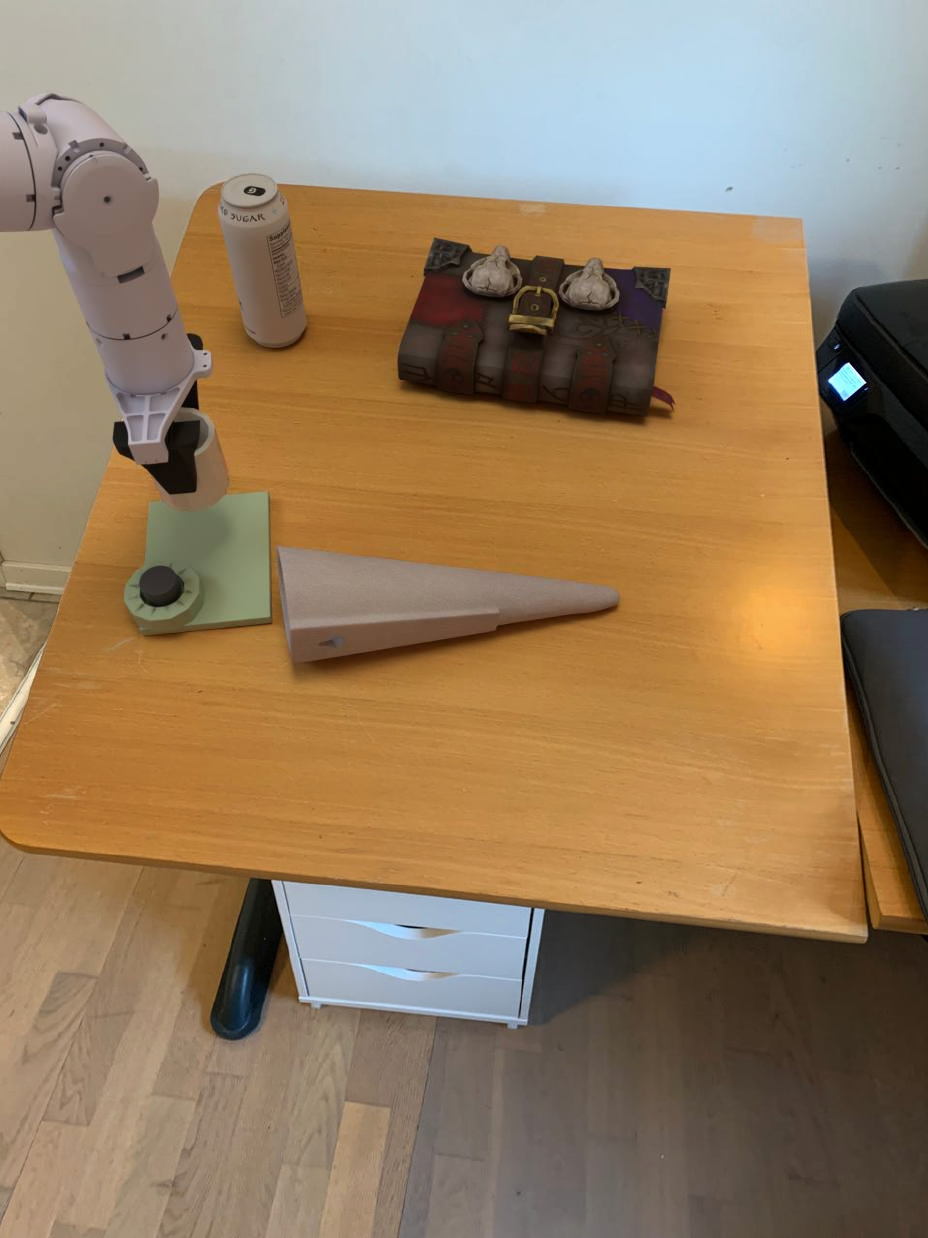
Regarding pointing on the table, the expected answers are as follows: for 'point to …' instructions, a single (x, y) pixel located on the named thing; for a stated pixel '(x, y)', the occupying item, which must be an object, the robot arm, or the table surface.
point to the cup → (201, 468)
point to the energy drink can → (262, 259)
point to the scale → (208, 565)
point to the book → (536, 329)
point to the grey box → (409, 601)
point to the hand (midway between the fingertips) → (184, 459)
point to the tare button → (160, 585)
